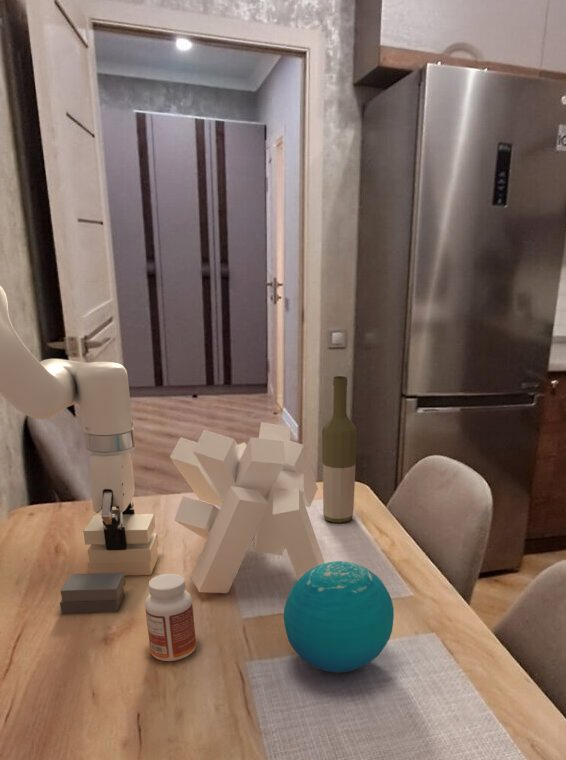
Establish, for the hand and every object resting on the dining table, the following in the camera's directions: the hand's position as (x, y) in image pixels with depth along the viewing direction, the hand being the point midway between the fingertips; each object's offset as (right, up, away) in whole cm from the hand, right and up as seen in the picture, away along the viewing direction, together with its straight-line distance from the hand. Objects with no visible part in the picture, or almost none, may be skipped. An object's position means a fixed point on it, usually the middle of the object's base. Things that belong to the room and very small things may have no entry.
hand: (121, 539), depth 115 cm
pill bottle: (+16, -15, -20) cm, 30 cm away
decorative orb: (+39, -17, -21) cm, 48 cm away
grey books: (0, -10, -10) cm, 14 cm away
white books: (0, -5, +2) cm, 5 cm away
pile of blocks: (+21, -5, +6) cm, 23 cm away
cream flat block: (0, +1, 0) cm, 1 cm away
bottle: (+35, +3, +27) cm, 44 cm away
